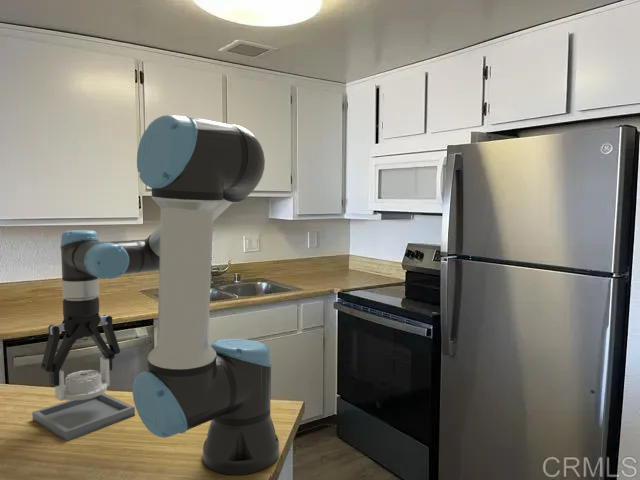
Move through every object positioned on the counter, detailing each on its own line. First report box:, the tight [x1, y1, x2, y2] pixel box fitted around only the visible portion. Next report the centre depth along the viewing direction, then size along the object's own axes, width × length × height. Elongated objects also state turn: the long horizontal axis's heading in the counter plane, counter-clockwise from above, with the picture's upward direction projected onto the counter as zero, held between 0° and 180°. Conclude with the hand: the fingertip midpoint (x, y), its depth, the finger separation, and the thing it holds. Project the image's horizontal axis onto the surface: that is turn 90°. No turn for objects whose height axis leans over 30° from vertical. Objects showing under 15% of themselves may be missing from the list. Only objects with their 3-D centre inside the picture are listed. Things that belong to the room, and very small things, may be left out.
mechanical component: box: [64, 369, 108, 401], centre depth 113 cm, size 10×4×10 cm
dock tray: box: [32, 392, 136, 442], centre depth 113 cm, size 16×16×2 cm
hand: (83, 391), depth 113 cm, fingers closed on mechanical component, 10 cm apart
